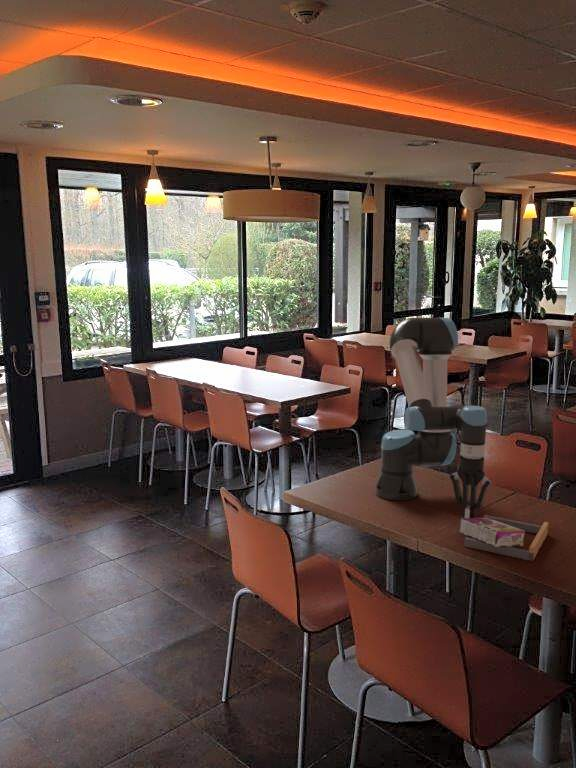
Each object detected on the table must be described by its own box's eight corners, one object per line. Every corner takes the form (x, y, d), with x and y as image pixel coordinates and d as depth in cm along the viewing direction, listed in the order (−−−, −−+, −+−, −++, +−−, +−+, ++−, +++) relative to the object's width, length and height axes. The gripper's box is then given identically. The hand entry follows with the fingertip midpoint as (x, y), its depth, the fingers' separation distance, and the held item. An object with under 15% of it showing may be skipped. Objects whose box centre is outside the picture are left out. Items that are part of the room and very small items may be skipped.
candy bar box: (487, 516, 217) (526, 530, 203) (486, 531, 217) (524, 546, 203) (460, 516, 212) (497, 531, 198) (458, 532, 213) (495, 548, 198)
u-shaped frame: (464, 546, 207) (464, 533, 206) (484, 521, 226) (484, 510, 225) (532, 561, 197) (533, 548, 196) (547, 534, 216) (548, 522, 215)
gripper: (447, 455, 213) (443, 526, 217) (489, 462, 206) (484, 535, 211) (455, 449, 219) (451, 518, 223) (496, 456, 212) (491, 527, 217)
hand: (467, 526), depth 217 cm, fingers closed
